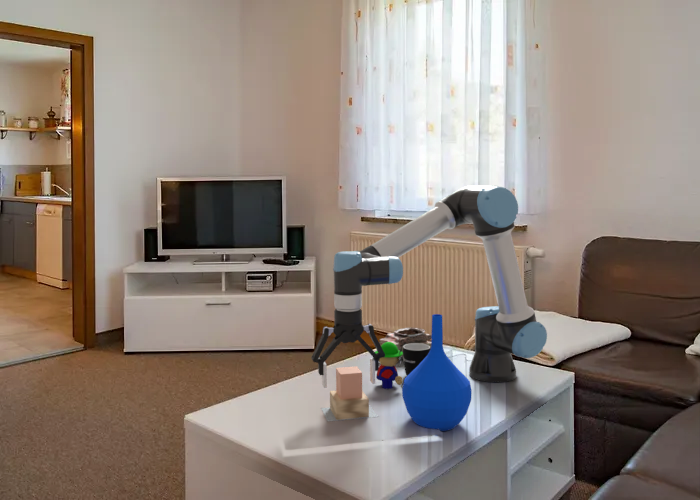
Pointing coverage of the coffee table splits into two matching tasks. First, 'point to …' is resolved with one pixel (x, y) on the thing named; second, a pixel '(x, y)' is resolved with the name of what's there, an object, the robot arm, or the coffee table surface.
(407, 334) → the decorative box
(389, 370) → the toy
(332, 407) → the oak brick
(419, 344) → the mug
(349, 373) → the salmon pink block
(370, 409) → the board
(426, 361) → the vase
